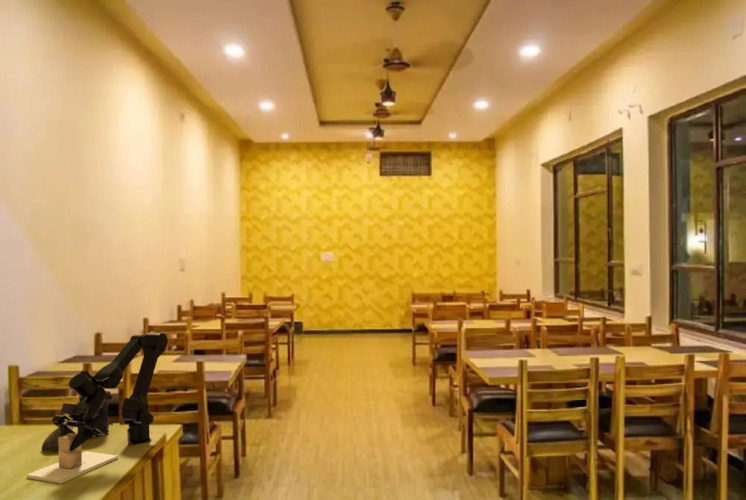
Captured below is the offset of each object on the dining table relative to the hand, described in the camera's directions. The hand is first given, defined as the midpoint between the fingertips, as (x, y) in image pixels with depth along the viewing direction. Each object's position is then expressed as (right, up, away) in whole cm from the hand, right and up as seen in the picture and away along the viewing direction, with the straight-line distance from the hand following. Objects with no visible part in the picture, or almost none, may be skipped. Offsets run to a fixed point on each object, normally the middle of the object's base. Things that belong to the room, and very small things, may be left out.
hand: (64, 449), depth 190 cm
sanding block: (+1, -6, +2) cm, 6 cm away
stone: (-14, -7, +24) cm, 29 cm away
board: (+1, -7, +3) cm, 8 cm away
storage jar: (-9, -7, +40) cm, 41 cm away
